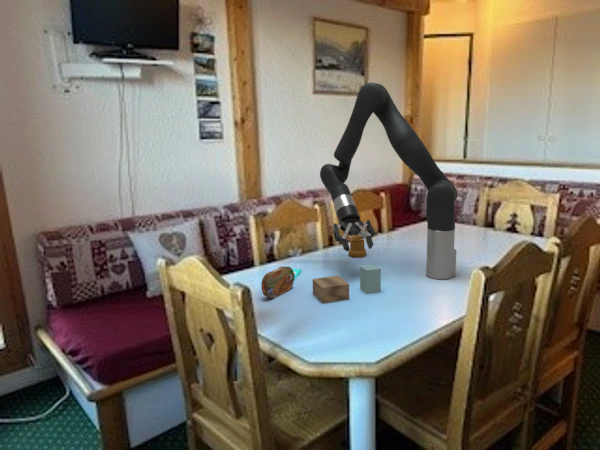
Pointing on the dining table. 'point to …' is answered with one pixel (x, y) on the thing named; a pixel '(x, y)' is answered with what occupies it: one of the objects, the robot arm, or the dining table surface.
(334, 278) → the walnut plinth
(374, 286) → the teal block
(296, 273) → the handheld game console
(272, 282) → the tin
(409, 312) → the dining table surface
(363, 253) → the ornamental finial
